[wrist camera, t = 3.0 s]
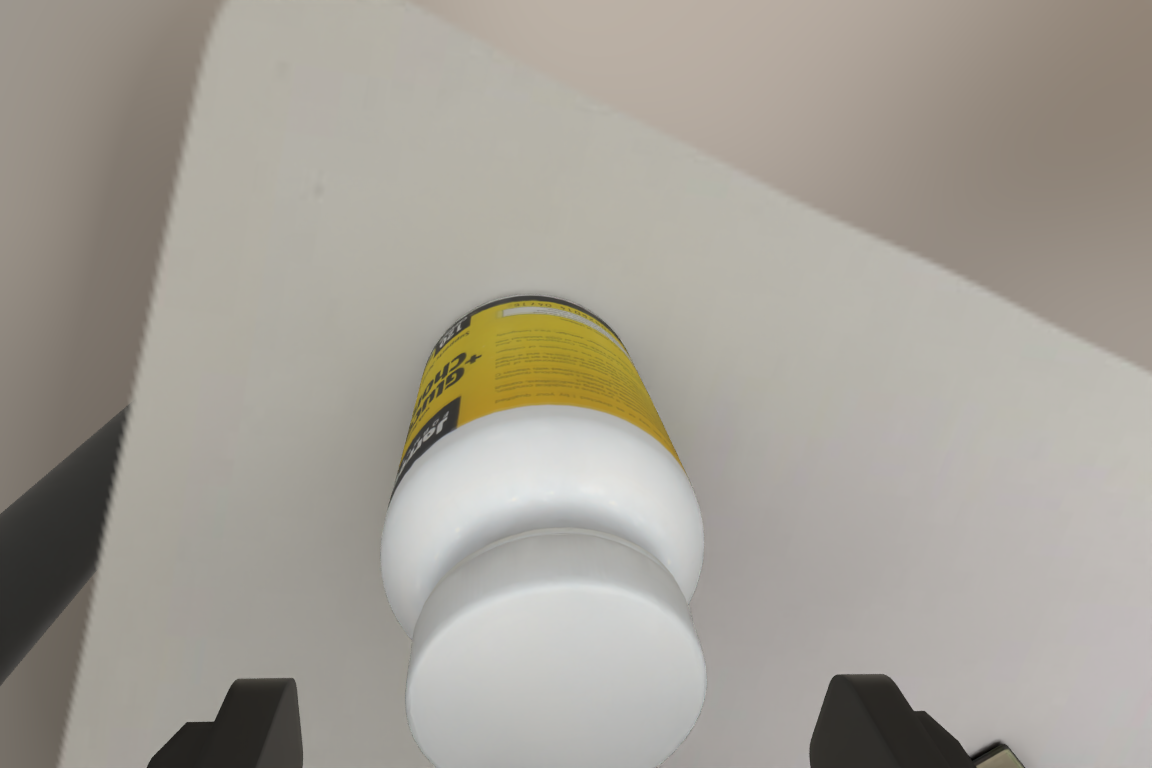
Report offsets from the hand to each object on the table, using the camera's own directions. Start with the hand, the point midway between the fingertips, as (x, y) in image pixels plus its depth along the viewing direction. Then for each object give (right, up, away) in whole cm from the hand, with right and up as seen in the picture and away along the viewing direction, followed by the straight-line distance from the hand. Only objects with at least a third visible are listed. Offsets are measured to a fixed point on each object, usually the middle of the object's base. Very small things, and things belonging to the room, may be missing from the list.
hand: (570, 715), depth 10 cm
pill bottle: (-1, +5, +11) cm, 12 cm away
